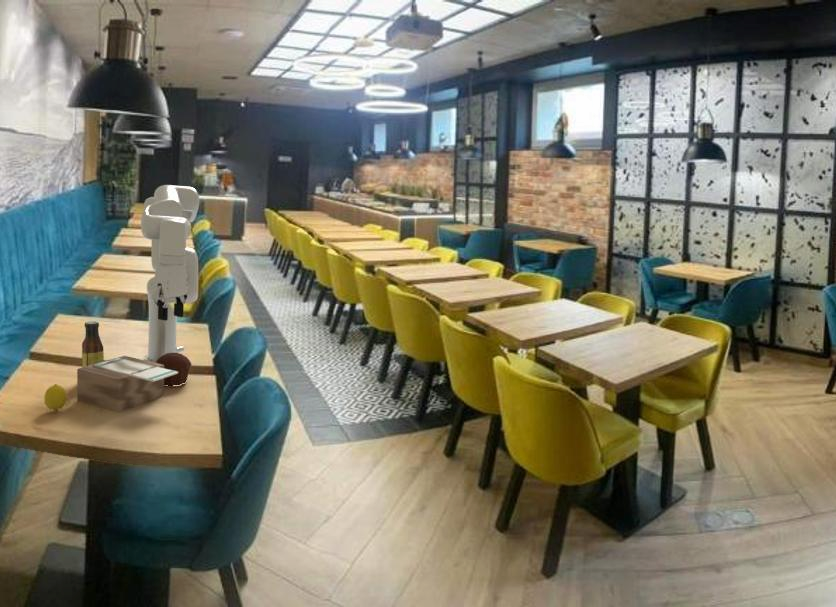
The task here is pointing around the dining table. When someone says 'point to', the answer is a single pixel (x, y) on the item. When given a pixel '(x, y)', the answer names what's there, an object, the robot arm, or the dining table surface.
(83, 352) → the sauce bottle
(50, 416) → the dining table surface
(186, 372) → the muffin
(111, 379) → the brown box with strip
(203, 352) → the dining table surface
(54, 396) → the lemon
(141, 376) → the stub
